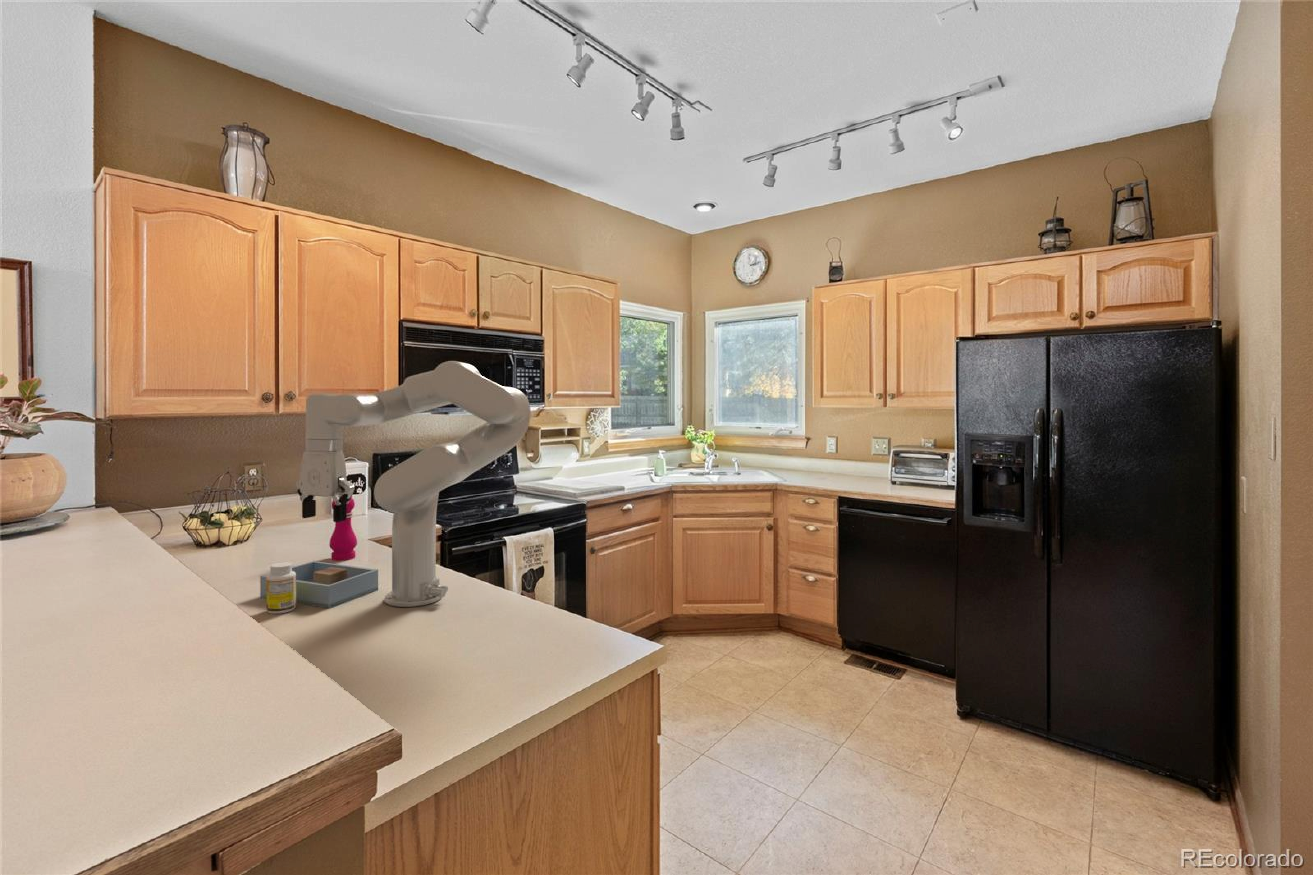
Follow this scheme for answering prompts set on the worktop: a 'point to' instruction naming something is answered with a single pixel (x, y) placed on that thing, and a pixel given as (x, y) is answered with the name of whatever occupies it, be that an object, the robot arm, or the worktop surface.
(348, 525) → the pepper mill
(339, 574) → the walnut cube
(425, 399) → the robot arm
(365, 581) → the tote
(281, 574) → the supplement bottle
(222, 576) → the worktop surface
